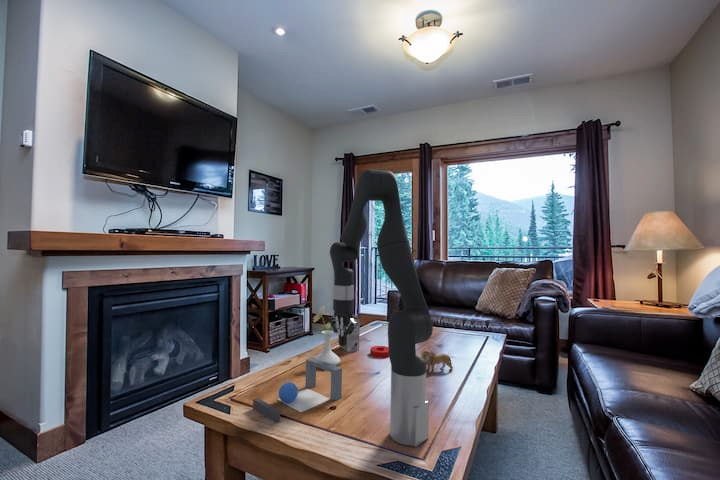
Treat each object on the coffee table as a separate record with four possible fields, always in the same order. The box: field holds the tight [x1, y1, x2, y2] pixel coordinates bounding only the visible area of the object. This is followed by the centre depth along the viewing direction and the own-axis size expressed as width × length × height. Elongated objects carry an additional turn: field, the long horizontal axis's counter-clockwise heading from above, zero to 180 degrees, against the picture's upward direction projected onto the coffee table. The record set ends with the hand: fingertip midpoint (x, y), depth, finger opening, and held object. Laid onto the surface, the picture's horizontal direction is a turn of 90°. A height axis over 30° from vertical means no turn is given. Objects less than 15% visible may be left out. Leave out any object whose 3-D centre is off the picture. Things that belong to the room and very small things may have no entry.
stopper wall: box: [252, 397, 281, 424], centre depth 99 cm, size 12×2×3 cm, turn 48°
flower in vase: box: [312, 305, 341, 366], centre depth 141 cm, size 13×11×25 cm
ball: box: [278, 381, 299, 403], centre depth 107 cm, size 6×6×6 cm
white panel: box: [277, 387, 331, 413], centre depth 109 cm, size 12×12×1 cm
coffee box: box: [340, 313, 361, 353], centre depth 165 cm, size 9×6×16 cm
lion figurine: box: [421, 349, 454, 374], centre depth 138 cm, size 15×5×9 cm, turn 110°
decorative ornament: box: [369, 345, 389, 359], centre depth 157 cm, size 10×10×3 cm
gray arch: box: [304, 357, 343, 402], centre depth 115 cm, size 3×15×10 cm, turn 47°
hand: (342, 345), depth 122 cm, fingers closed
